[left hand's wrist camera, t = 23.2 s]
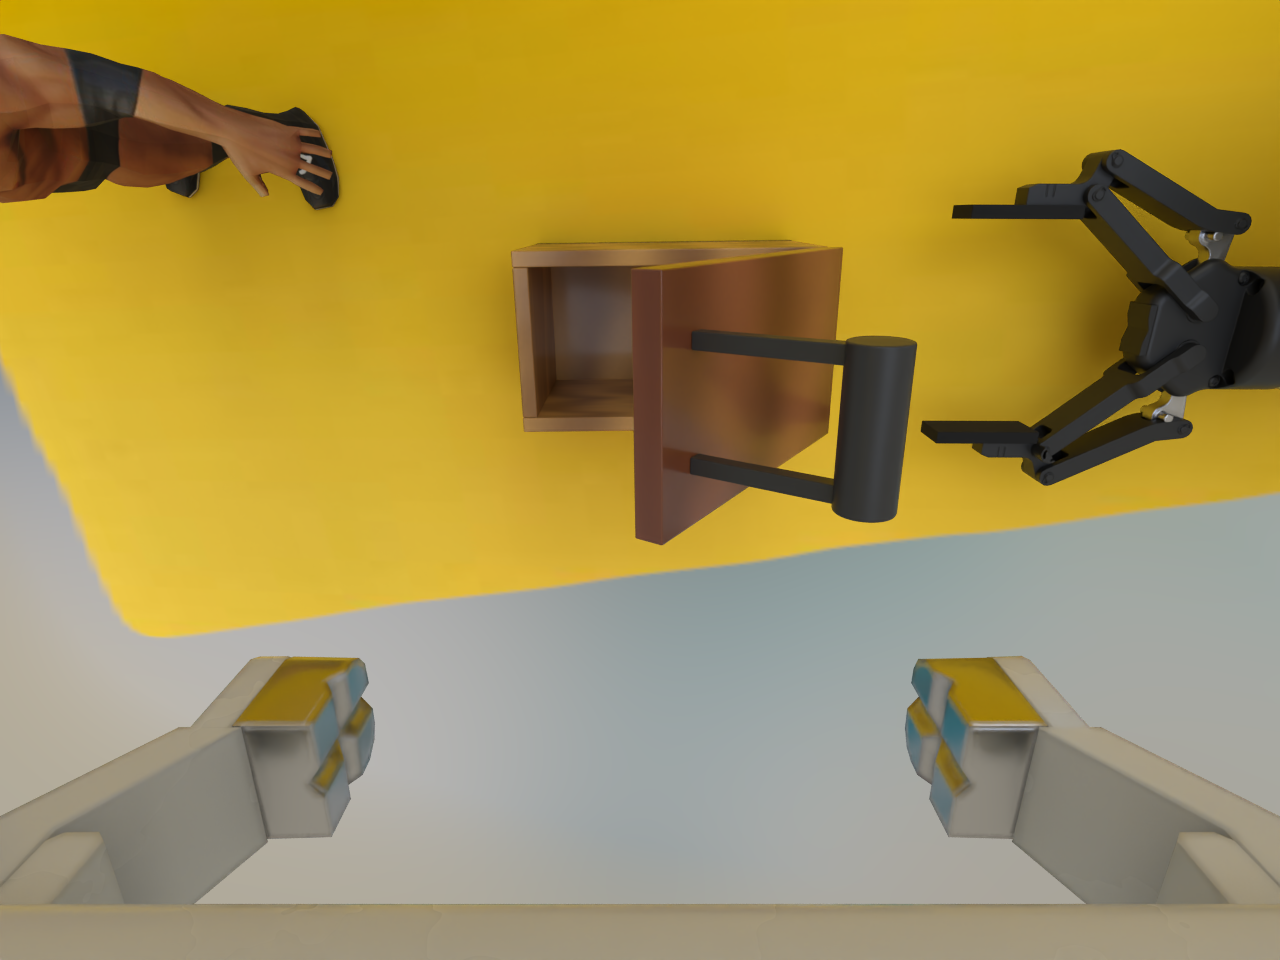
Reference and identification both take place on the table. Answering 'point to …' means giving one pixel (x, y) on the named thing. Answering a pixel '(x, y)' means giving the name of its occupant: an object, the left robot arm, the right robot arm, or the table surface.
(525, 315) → the chest
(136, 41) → the table surface
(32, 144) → the figurine
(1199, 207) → the right robot arm
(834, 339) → the lid
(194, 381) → the table surface
